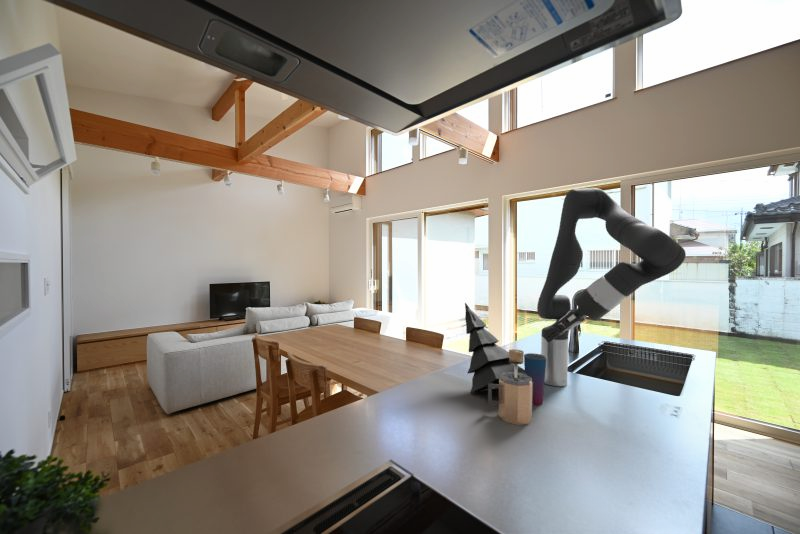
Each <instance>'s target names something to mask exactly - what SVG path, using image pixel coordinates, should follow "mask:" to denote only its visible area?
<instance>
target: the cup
mask: <svg viewBox="0 0 800 534" xmlns="http://www.w3.org/2000/svg"><path fill="white" fill-rule="evenodd" d="M540 354H541V353H535V352H534V353H533V352H532V353H531V352H530V353H524V356H523V365H524V370H525V374H526V375H528V376H529V377H531V378H532V381H533V386H532V406H541V405H543V401H544V394H545V393H544V390H545V383H544V381H545V369H546V356H544V355H540Z"/></svg>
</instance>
